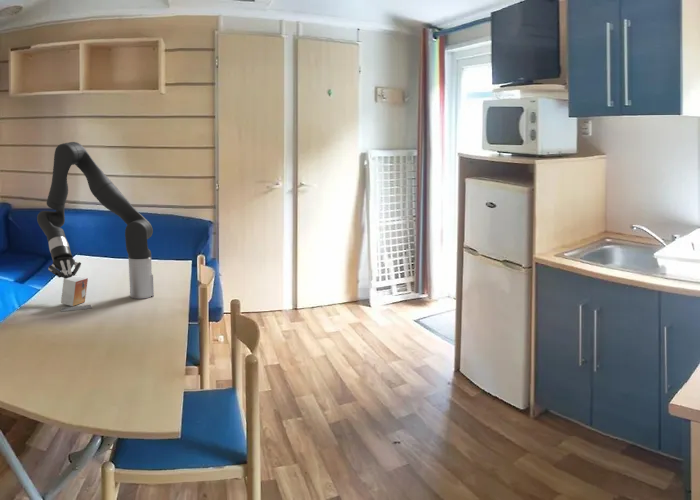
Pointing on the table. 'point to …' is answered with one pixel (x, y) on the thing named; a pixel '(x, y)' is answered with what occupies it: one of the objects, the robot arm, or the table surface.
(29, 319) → the table surface
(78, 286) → the small box
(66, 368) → the table surface
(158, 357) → the table surface
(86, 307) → the charcoal mat
